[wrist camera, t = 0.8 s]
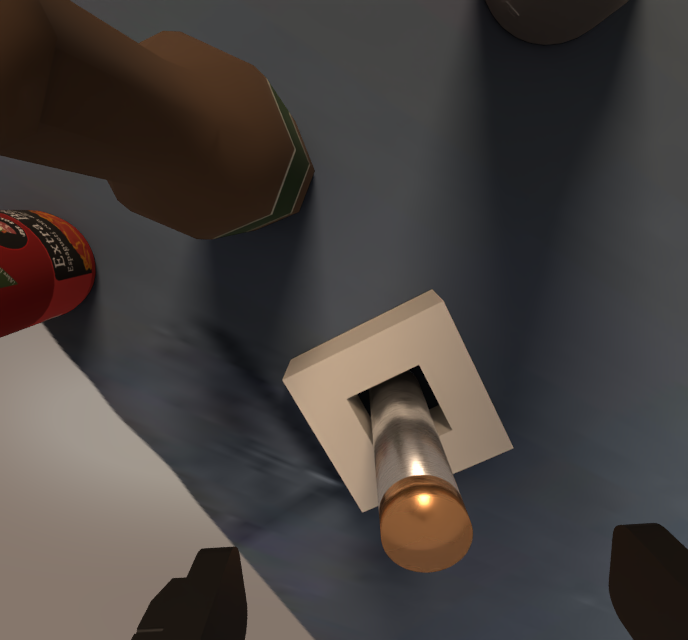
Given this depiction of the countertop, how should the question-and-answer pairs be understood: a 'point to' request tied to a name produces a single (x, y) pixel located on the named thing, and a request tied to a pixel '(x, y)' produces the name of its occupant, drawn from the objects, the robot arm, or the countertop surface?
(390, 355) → the socket block
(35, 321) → the canned food
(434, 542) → the plug
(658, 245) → the countertop surface
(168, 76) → the beer bottle
